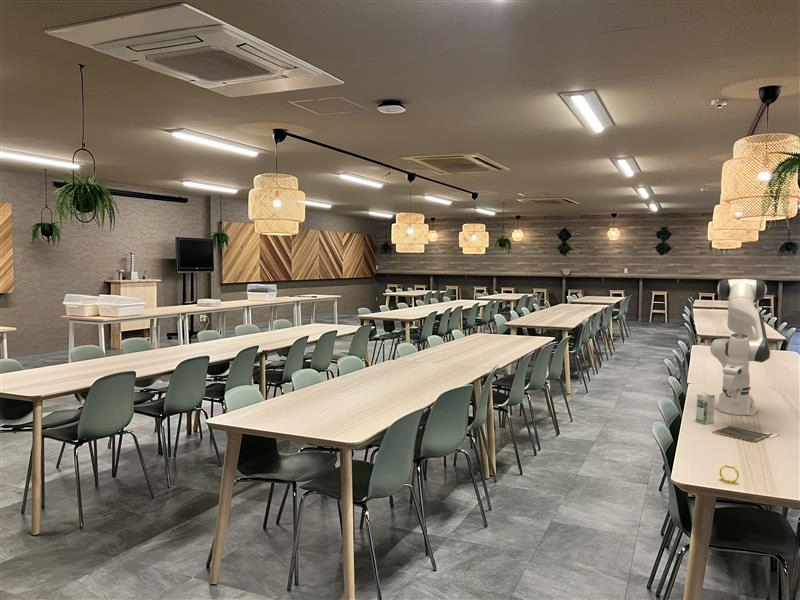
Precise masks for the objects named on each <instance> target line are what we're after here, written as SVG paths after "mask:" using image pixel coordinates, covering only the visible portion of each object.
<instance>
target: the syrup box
mask: <svg viewBox="0 0 800 600" xmlns="http://www.w3.org/2000/svg"><path fill="white" fill-rule="evenodd" d="M715 398H716V396H715V394H711V393H708V392H704V391H703V392H697V395H696V411H695V422H696V421H697V422H698V423H700V424H703V425H710V424H713V423H714V413H715Z"/></svg>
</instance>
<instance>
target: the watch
mask: <svg viewBox="0 0 800 600" xmlns="http://www.w3.org/2000/svg"><path fill="white" fill-rule="evenodd" d="M724 468H728V469H733V470H734V471H735V473H736V478H735V479H734V480H731V479H726V478H725V477H724V476H723V474H722V470H723V469H724ZM718 473H719V477H720V478H721V479H722V481H724V480H725V481H726V482H728V481H729V482H730V483H732V482H733V483H736V482H737V480H738V479H739V477H740V472H739V471H738V468H736V466H735V465H733V464H731V463H726V464H724V465H723V466H722V467H721V468H720V469H719V472H718Z"/></svg>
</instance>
